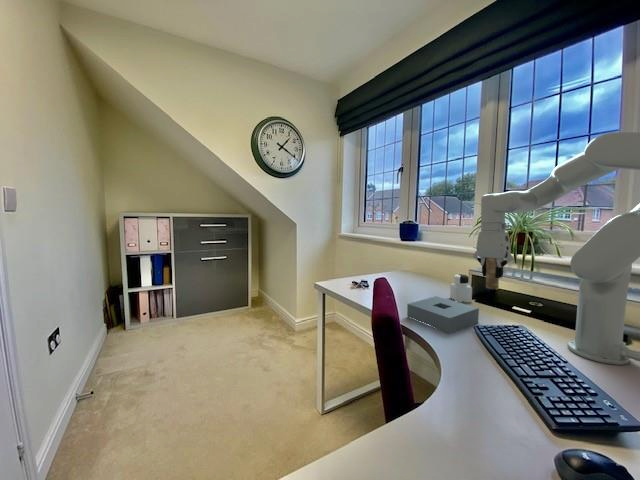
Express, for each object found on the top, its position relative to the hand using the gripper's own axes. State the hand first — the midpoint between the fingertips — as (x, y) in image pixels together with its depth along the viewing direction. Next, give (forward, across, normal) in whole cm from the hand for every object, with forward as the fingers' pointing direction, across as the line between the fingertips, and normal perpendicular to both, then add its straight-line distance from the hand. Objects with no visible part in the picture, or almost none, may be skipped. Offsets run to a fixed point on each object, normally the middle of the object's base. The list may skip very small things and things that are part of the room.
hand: (492, 276), depth 103 cm
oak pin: (+4, 0, 0) cm, 4 cm away
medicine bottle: (+17, +21, -15) cm, 31 cm away
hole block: (+17, +11, +14) cm, 25 cm away
